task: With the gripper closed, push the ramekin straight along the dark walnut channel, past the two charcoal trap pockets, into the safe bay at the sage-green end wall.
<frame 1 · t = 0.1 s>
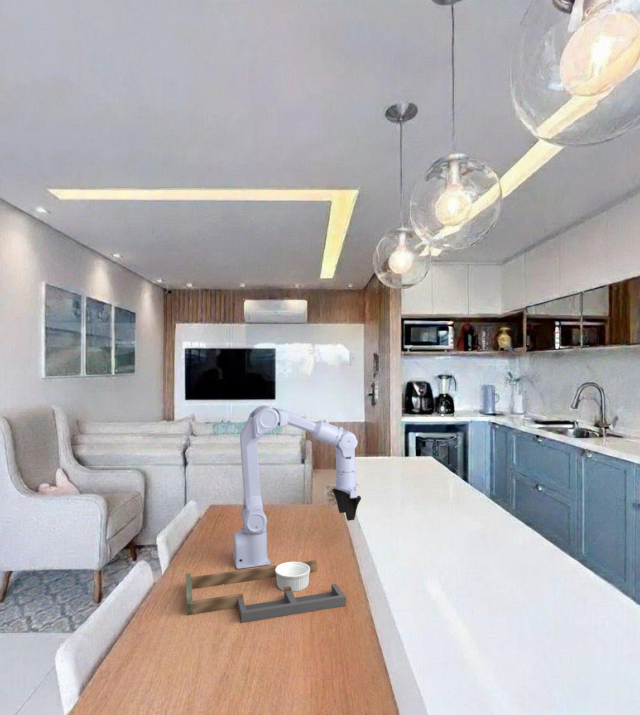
hand: (346, 516, 149), 10 cm above the table, fingers open, 7 cm apart
ramekin: (292, 586, 126), on the table
charcoal trap pits: (290, 606, 114), on the table
walnut channel: (257, 590, 123), on the table
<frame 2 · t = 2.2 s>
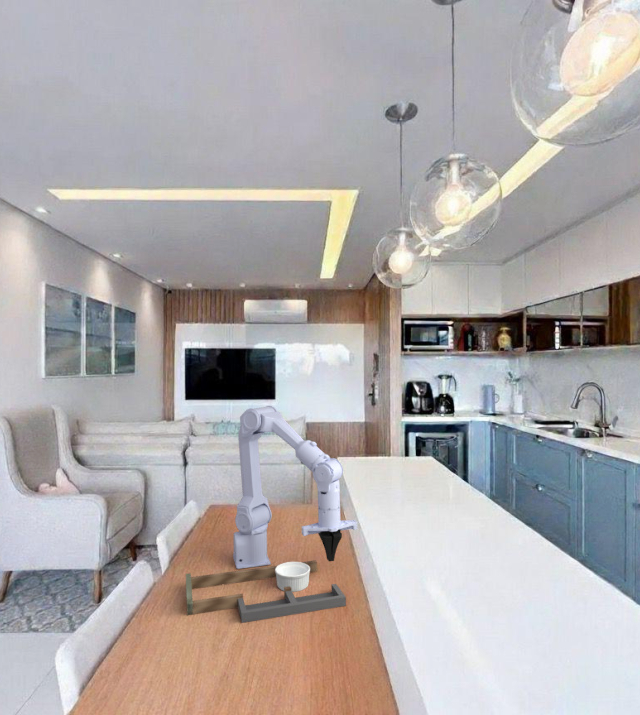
hand: (330, 559, 128), 5 cm above the table, fingers closed
nothing on the table moved.
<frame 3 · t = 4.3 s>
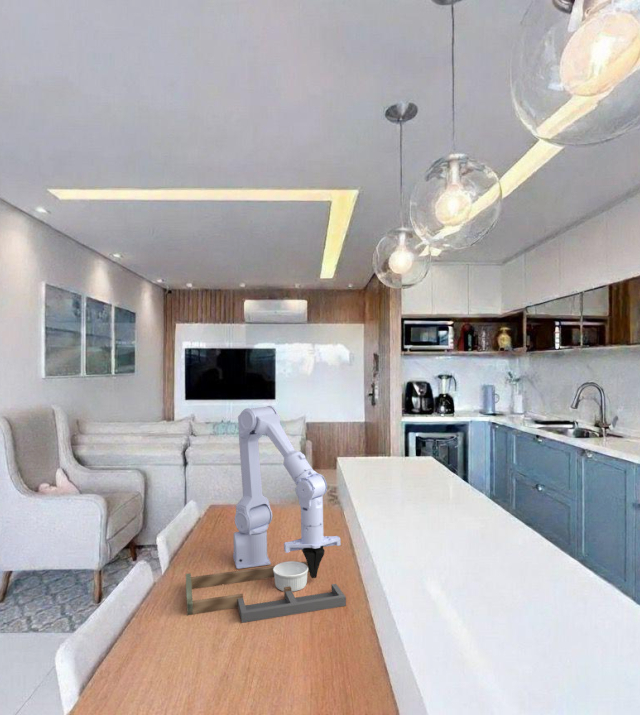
hand: (313, 576, 127), 1 cm above the table, fingers closed
ramekin: (291, 586, 126), on the table, touching gripper
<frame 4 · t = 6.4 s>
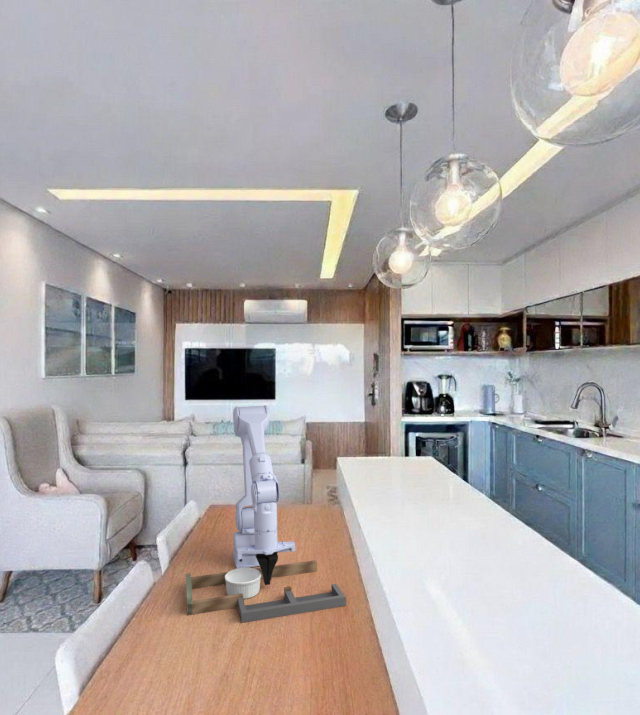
hand: (266, 583, 124), 1 cm above the table, fingers closed
ramekin: (243, 593, 122), on the table, touching gripper
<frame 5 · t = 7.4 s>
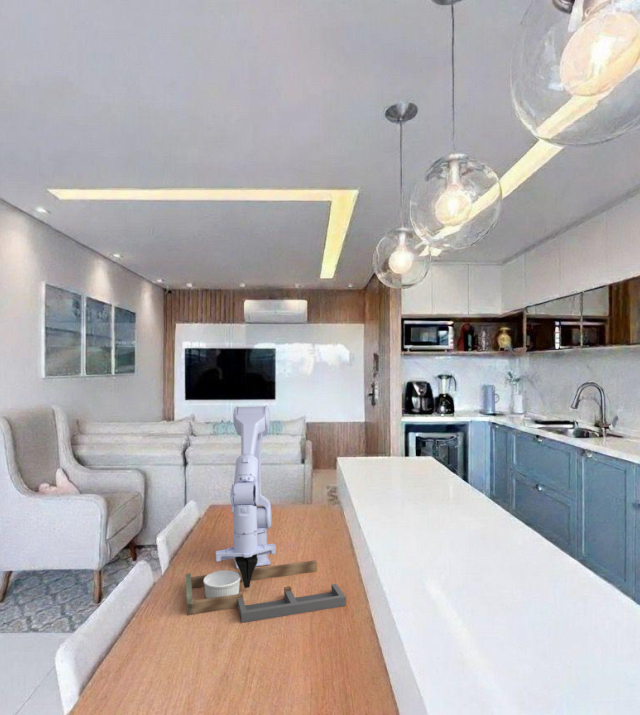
hand: (246, 586, 122), 1 cm above the table, fingers closed
ramekin: (222, 596, 121), on the table, touching gripper
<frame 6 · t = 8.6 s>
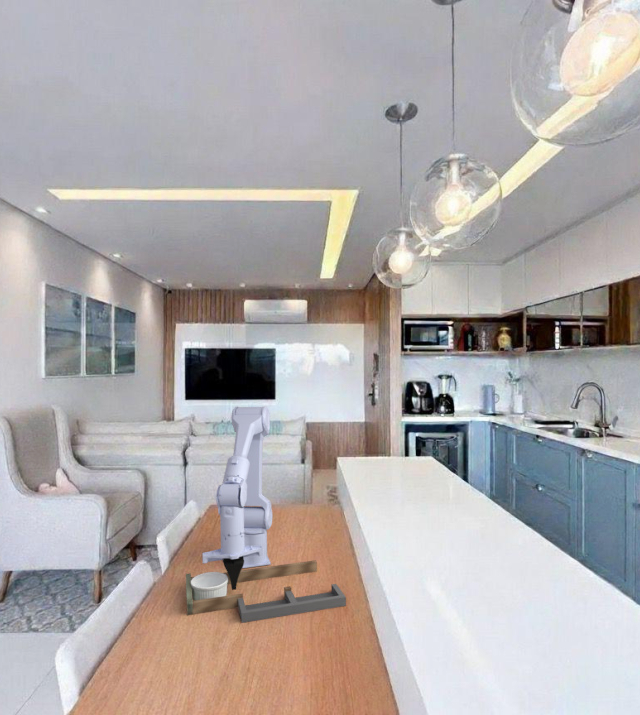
hand: (233, 588, 122), 1 cm above the table, fingers closed
ramekin: (209, 598, 120), on the table, touching gripper, walnut channel
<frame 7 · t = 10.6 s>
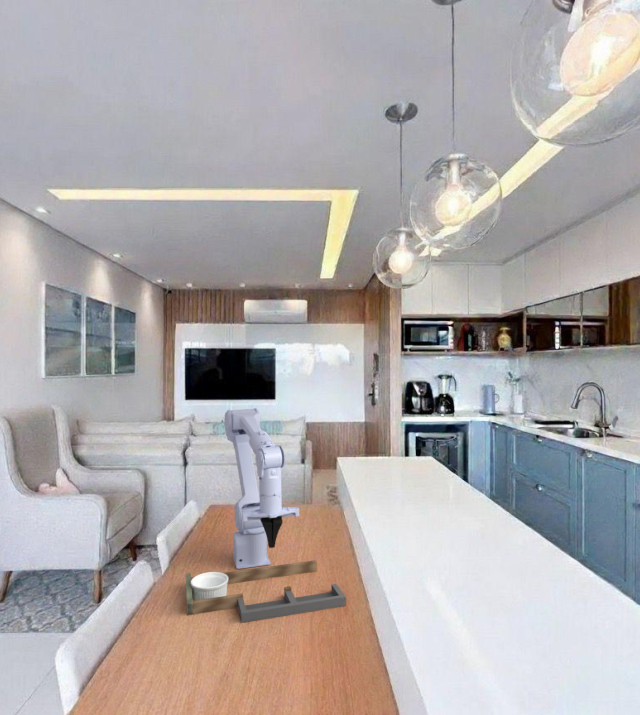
hand: (271, 546, 128), 9 cm above the table, fingers closed
ramekin: (209, 598, 120), on the table, touching walnut channel
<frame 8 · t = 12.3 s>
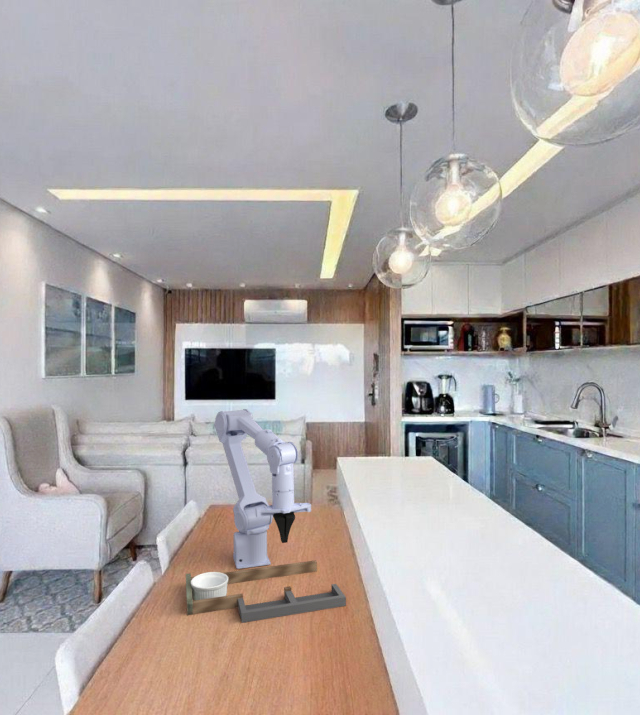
hand: (284, 541, 130), 9 cm above the table, fingers closed
nothing on the table moved.
at the end: ramekin inside the target area (2.1 cm from its centre), on the table; ramekin tilted 0°; ramekin touching table, walnut channel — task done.
